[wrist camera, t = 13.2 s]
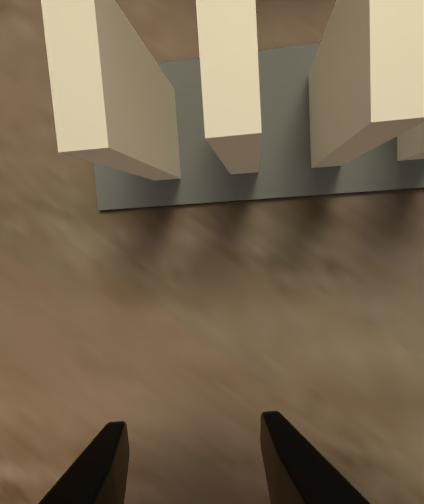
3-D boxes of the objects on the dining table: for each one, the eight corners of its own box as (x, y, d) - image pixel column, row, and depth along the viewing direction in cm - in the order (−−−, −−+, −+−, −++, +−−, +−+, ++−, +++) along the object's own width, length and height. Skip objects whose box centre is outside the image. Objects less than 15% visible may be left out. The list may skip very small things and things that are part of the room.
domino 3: (338, 69, 18) (437, -96, 8) (341, 165, 19) (435, 116, 9) (308, 73, 18) (368, -84, 9) (311, 167, 19) (371, 122, 9)
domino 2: (254, 79, 19) (252, -64, 9) (258, 172, 19) (261, 132, 10) (225, 83, 19) (192, -54, 9) (230, 174, 20) (204, 138, 10)
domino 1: (174, 89, 19) (90, -36, 10) (181, 178, 20) (108, 147, 10) (147, 92, 20) (37, -27, 10) (154, 180, 20) (58, 152, 10)
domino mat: (597, 175, 18) (603, 174, 17) (100, 210, 21) (97, 210, 21) (607, 8, 17) (613, 4, 16) (86, 74, 20) (83, 72, 20)
